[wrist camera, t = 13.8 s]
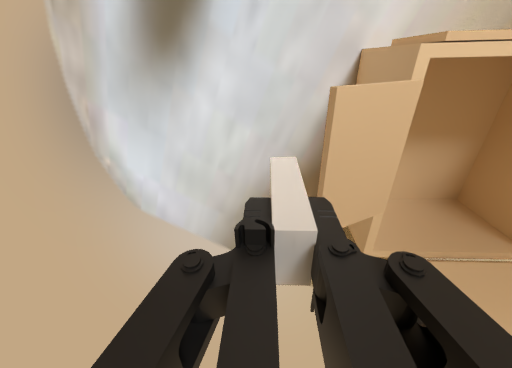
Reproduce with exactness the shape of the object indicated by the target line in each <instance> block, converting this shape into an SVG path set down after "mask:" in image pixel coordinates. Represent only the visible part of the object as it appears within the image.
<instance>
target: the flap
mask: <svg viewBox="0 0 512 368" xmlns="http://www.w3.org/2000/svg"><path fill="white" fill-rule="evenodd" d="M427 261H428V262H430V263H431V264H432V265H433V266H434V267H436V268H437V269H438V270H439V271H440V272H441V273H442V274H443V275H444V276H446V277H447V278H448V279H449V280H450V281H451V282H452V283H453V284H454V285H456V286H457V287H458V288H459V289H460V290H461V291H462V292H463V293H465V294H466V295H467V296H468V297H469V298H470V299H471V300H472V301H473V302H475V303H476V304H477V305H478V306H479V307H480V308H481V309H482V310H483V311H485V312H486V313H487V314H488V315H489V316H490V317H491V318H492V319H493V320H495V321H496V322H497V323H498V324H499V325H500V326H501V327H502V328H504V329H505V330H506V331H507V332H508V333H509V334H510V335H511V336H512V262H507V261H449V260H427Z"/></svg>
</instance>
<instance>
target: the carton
mask: <svg viewBox="0 0 512 368" xmlns="http://www.w3.org/2000/svg"><path fill="white" fill-rule="evenodd" d="M404 80H424V82H423V86H422V89H421V92H420V96H419V99H418V102H417V106H416V109H415V112H414V116H413V119H412V122H411V126H410V129H409V132H408V136H407V139H406V142H405V146H404V149H403V152H402V156H401V159H400V162H399V166H398V169H397V172H396V176H395V179H394V182H393V186H392V189H391V192H390V195H389V199H388V202H387V205H386V209H385V212H383V213H380V214H378V215H375V216H372V217H370V218H367V219H365V220H362V221H359V222H357V223H354V224H352V225H349V226H348V228H349V230H350V232H351V234H352V236H353V238H354V241H355V243H356V245H357V246H358V248H359V249H360V251H361V252H362V253H364V254H367V255H370V256H374V257H389V256H390V254H392V253H394V252H397V251H405V252H410V253H414V254H416V255H418V256H420V257H423V258H461V259H512V29H504V30H469V31H446V32H439V33H433V34H426V35H420V36H413V37H407V38H400V39H394V40H392V45H391V46H389V47H380V48H370V49H362V52H361V58H360V64H359V70H358V76H357V81H356V85H357V84H369V83H381V82H393V81H404Z"/></svg>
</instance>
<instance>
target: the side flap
mask: <svg viewBox="0 0 512 368" xmlns="http://www.w3.org/2000/svg"><path fill="white" fill-rule="evenodd" d="M423 82H424V80H404V81H393V82H381V83H369V84H357V85H345V86H333V87H330V95H329V104H328V112H327V120H326V128H325V136H324V144H323V152H322V160H321V168H320V176H319V184H318V192H317V197H325V198H326V199H327V200H328V201H329V202H330V203H331V204H332V206H333V208H334V212H335V213H336V215H337V217H338V219H339V222H340V224H341V226H342V228H344V227H346V226H349V225H352V224H354V223H357V222H359V221H362V220H365V219H367V218H370V217H372V216H375V215H378V214H380V213H383V212H385V209H386V205H387V202H388V199H389V195H390V192H391V189H392V186H393V182H394V179H395V176H396V172H397V169H398V166H399V162H400V159H401V156H402V152H403V149H404V146H405V142H406V139H407V136H408V132H409V129H410V126H411V122H412V119H413V116H414V112H415V109H416V106H417V102H418V99H419V96H420V92H421V89H422V86H423Z"/></svg>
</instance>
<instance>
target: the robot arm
mask: <svg viewBox="0 0 512 368" xmlns="http://www.w3.org/2000/svg"><path fill="white" fill-rule="evenodd" d="M234 232H235V243H236V247H235V248H234V249H233V250H231V251H229V252H227V253H224V254H221V255H217V256H213V257H212V255H211V254H210V253H209V252H207V251H205V250H202V249H193V250H189V251H186V252H184V253H182V254H181V255H179V256H178V257H177V258H176V259H175V260H174V261H173V263H172V264H171V265H170V266H169V268H168V269H167V270H166V272H165V273H164V274H163V276H162V277H161V278H160V279H159V281H158V282H157V283H156V285H155V286H154V287H153V288H152V290H151V291H150V292H149V293H148V295H147V296H146V297H145V299H144V300H143V301H142V303H141V304H140V305H139V307H138V308H137V309H136V310H135V312H134V313H133V314H132V316H131V317H130V318H129V319H128V321H127V322H126V323H125V325H124V326H123V327H122V328H121V330H120V331H119V332H118V333H117V335H116V336H115V337H114V339H113V340H112V341H111V343H110V344H109V345H108V346H107V348H106V349H105V350H104V352H103V353H102V354H101V355H100V357H99V358H98V359H97V361H96V362H95V363H94V364H93V366H92V367H91V368H199V366H200V363H201V361H202V358H203V356H204V354H205V352H206V349H207V347H208V344H209V342H210V340H211V338H212V335H213V333H214V331H215V328H216V326H217V324H218V321H219V319H220V317H222V316H225V319H224V325H223V331H222V338H221V343H220V350H219V356H218V362H217V368H279V349H278V348H279V347H278V324H277V323H278V322H277V299H276V285H309V286H310V284H311V277H312V282H313V287H314V288H313V295H312V302H311V312H314V310H315V315H316V320H317V326H318V331H319V336H320V342H321V347H322V352H323V358H324V363H325V368H512V336H511V335H510V334H509V333H508V332H507V331H506V330H505V329H504V328H502V327H501V326H500V325H499V324H498V323H497V322H496V321H495V320H493V319H492V318H491V317H490V316H489V315H488V314H487V313H486V312H485V311H483V310H482V309H481V308H480V307H479V306H478V305H477V304H476V303H475V302H473V301H472V300H471V299H470V298H469V297H468V296H467V295H466V294H465V293H463V292H462V291H461V290H460V289H459V288H458V287H457V286H456V285H454V284H453V283H452V282H451V281H450V280H449V279H448V278H447V277H446V276H444V275H443V274H442V273H441V272H440V271H439V270H438V269H437V268H436V267H434V266H433V265H432V264H431V263H430V262H428V261H427V260H425V259H424V258H423V257H420V256H418V255H416V254H414V253H410V252H405V251H397V252H394V253H392V254H390V256H389V258H388V260H386V259H382V258H378V257H374V256H370V255H367V254H364V253H362V252H361V251H360V249H359V248H358V246H357V245H356V244H355V243H353V242H352V241H351V240H349V239H347V237H346V235H345V233H344V231H343V228H342V226H341V224H340V222H339V219H338V217H337V215H336V213H335V212H334V208H333V206H332V204H331V203H330V202H329V201H328V200H327V199H326V198H325V197H308V196H307V193H306V189H305V186H304V182H303V179H302V176H301V172H300V169H299V165H298V162H297V159H296V157H270V198H250V199H249V200H248V201H247V202H246V203H245V210H244V217H243V220H241V221H240V222H239V223H238V224H237V225H236V227H235V229H234Z"/></svg>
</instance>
